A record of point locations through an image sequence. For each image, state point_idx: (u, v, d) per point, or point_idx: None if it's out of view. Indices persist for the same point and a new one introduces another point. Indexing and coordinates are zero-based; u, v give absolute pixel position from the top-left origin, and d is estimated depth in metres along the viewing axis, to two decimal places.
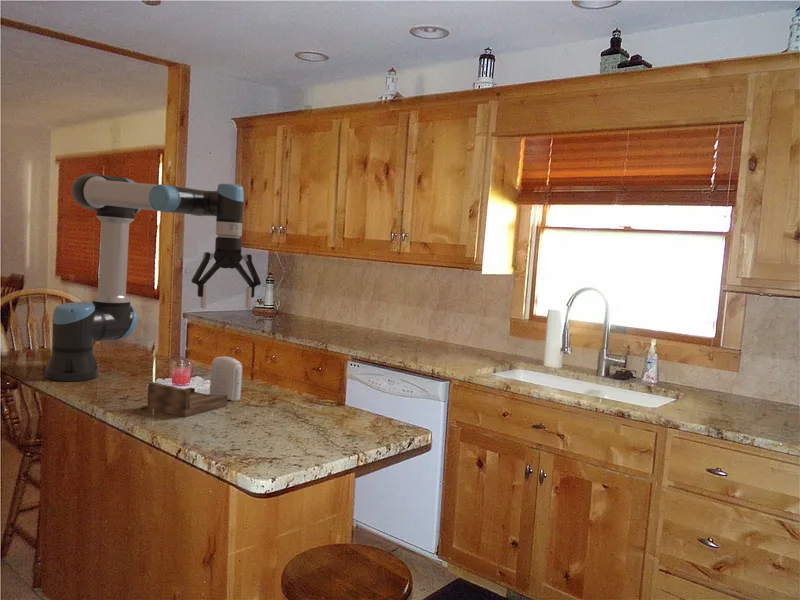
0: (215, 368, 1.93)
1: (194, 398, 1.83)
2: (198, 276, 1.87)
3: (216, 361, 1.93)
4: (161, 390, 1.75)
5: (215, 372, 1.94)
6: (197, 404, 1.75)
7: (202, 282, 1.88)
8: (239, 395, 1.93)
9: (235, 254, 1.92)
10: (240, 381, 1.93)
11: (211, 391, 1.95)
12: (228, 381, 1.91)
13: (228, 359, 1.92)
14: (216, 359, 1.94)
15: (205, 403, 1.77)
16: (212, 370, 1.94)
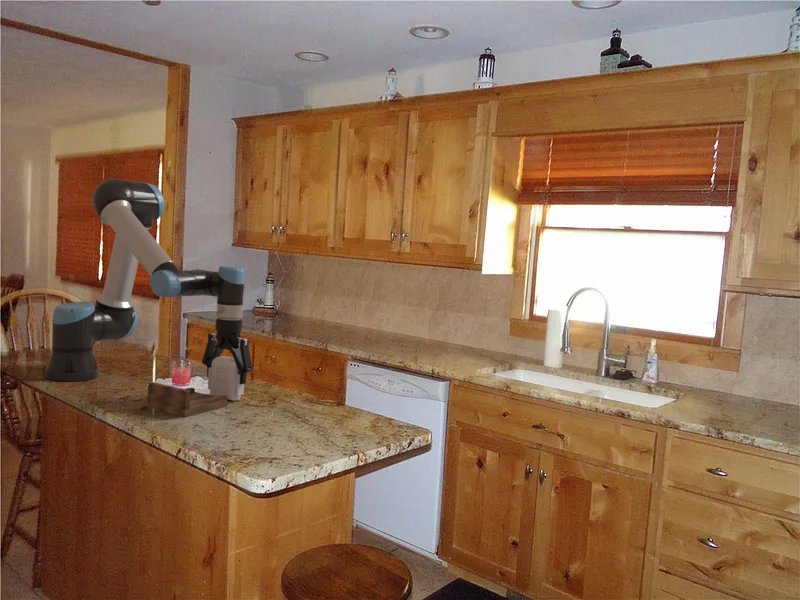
0: (215, 368, 1.93)
1: (194, 398, 1.83)
2: (204, 357, 1.96)
3: (216, 361, 1.93)
4: (161, 390, 1.75)
5: (215, 372, 1.94)
6: (197, 404, 1.75)
7: (208, 363, 1.96)
8: (239, 395, 1.93)
9: (231, 335, 1.91)
10: None
11: (211, 391, 1.95)
12: (228, 381, 1.91)
13: (228, 359, 1.92)
14: (216, 359, 1.94)
15: (205, 403, 1.77)
16: (212, 370, 1.94)
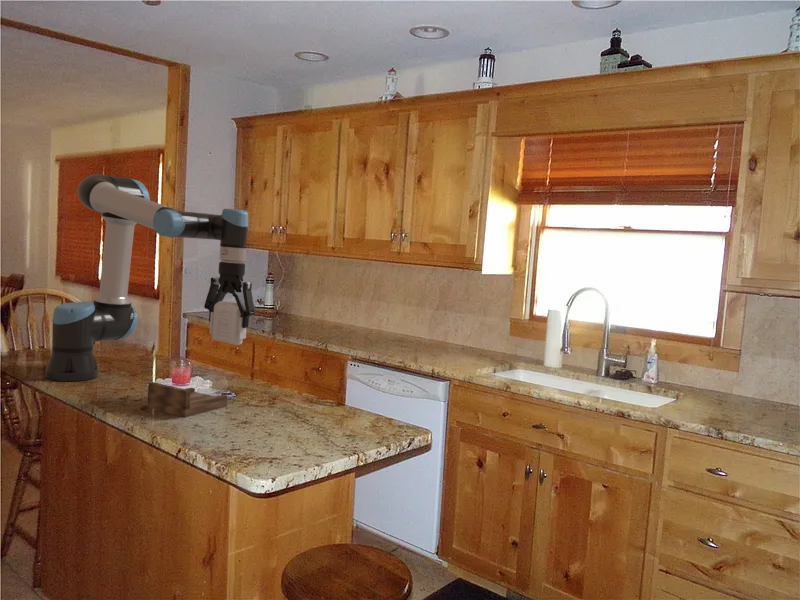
0: (218, 312, 1.92)
1: (194, 398, 1.83)
2: (207, 301, 1.95)
3: (219, 305, 1.92)
4: (161, 390, 1.75)
5: (217, 316, 1.92)
6: (197, 404, 1.75)
7: (210, 308, 1.94)
8: (241, 339, 1.92)
9: (233, 278, 1.90)
10: None
11: (213, 335, 1.93)
12: (230, 324, 1.90)
13: (231, 303, 1.91)
14: (218, 303, 1.93)
15: (205, 403, 1.77)
16: (214, 314, 1.93)
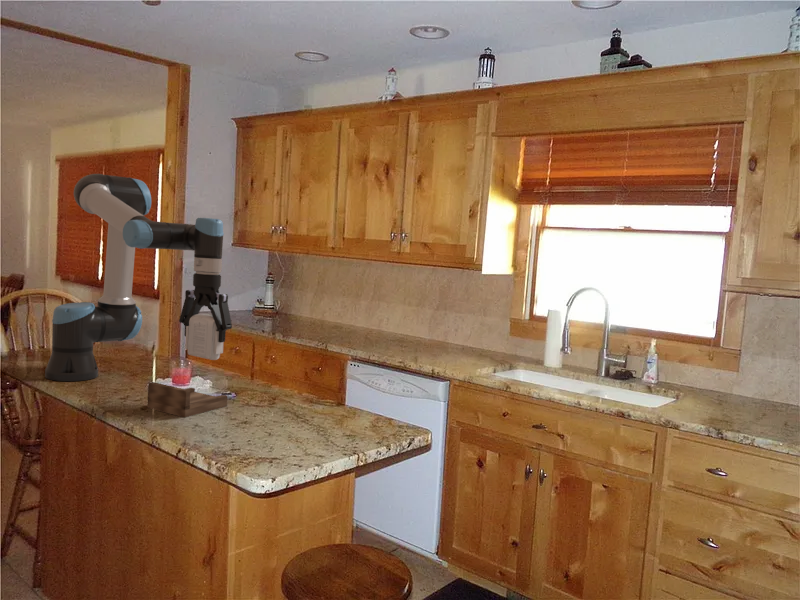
0: (193, 326, 1.83)
1: (194, 398, 1.83)
2: (182, 315, 1.86)
3: (194, 319, 1.83)
4: (161, 390, 1.75)
5: (193, 330, 1.83)
6: (197, 404, 1.75)
7: (185, 322, 1.85)
8: (218, 354, 1.83)
9: (209, 291, 1.81)
10: None
11: (189, 350, 1.85)
12: (206, 339, 1.81)
13: (206, 316, 1.82)
14: (194, 316, 1.84)
15: (205, 403, 1.77)
16: (190, 328, 1.84)
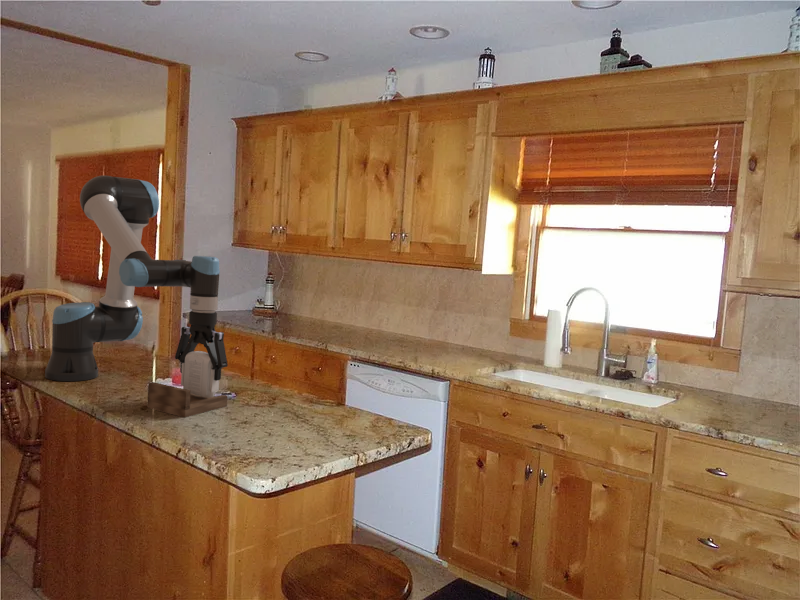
0: (189, 363, 1.83)
1: (194, 398, 1.83)
2: (178, 352, 1.86)
3: (190, 356, 1.83)
4: (161, 390, 1.75)
5: (188, 367, 1.84)
6: (197, 404, 1.75)
7: (181, 358, 1.86)
8: (214, 392, 1.83)
9: (205, 329, 1.81)
10: None
11: (184, 387, 1.85)
12: (201, 377, 1.81)
13: (202, 354, 1.82)
14: (190, 354, 1.84)
15: (205, 403, 1.77)
16: (185, 365, 1.84)
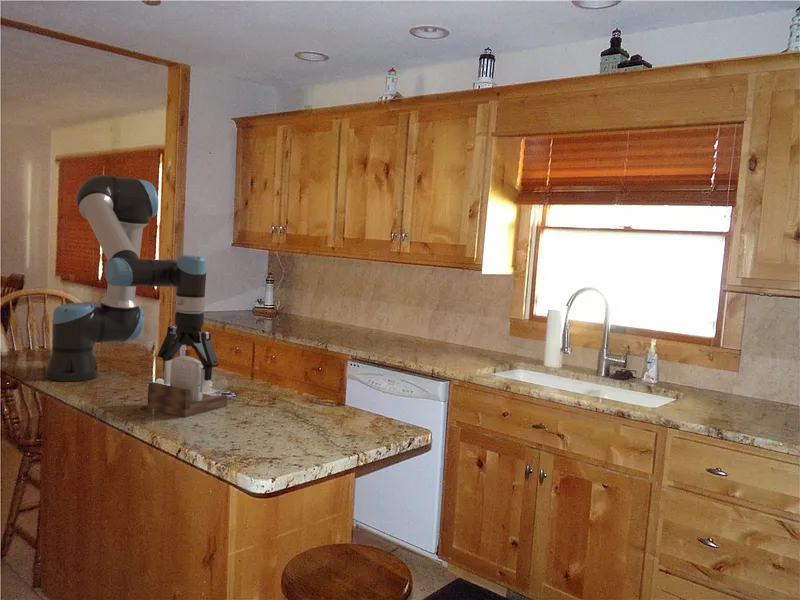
0: (175, 369, 1.79)
1: None
2: (161, 350, 1.82)
3: (176, 362, 1.79)
4: (161, 390, 1.75)
5: (174, 373, 1.79)
6: (197, 404, 1.75)
7: (164, 357, 1.82)
8: (200, 398, 1.79)
9: (191, 331, 1.77)
10: None
11: None
12: (188, 383, 1.77)
13: (188, 359, 1.78)
14: (176, 359, 1.80)
15: (205, 403, 1.77)
16: (172, 371, 1.80)
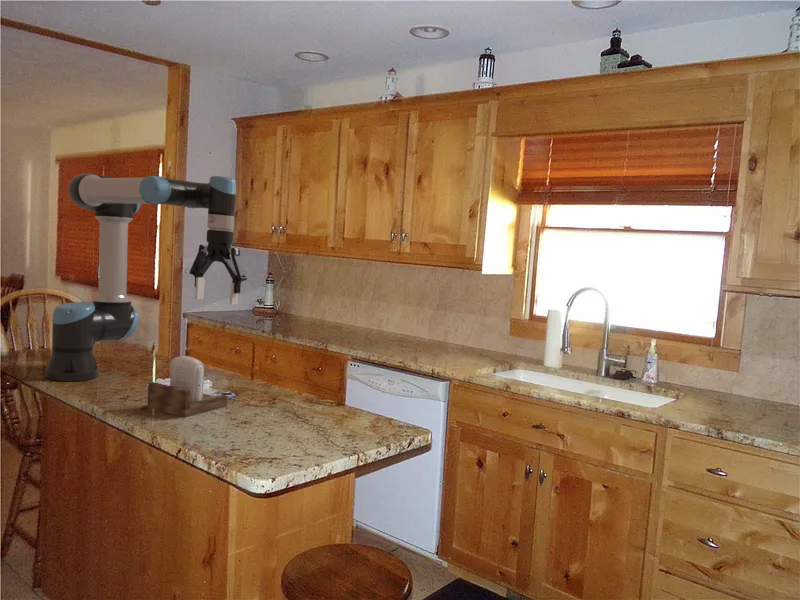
0: (175, 369, 1.79)
1: None
2: (193, 267, 1.94)
3: (176, 362, 1.79)
4: (161, 390, 1.75)
5: (174, 373, 1.79)
6: (197, 404, 1.75)
7: (195, 273, 1.94)
8: (200, 398, 1.79)
9: (221, 247, 1.89)
10: (201, 383, 1.78)
11: None
12: (188, 383, 1.77)
13: (188, 359, 1.78)
14: (176, 359, 1.80)
15: (205, 403, 1.77)
16: (172, 371, 1.80)
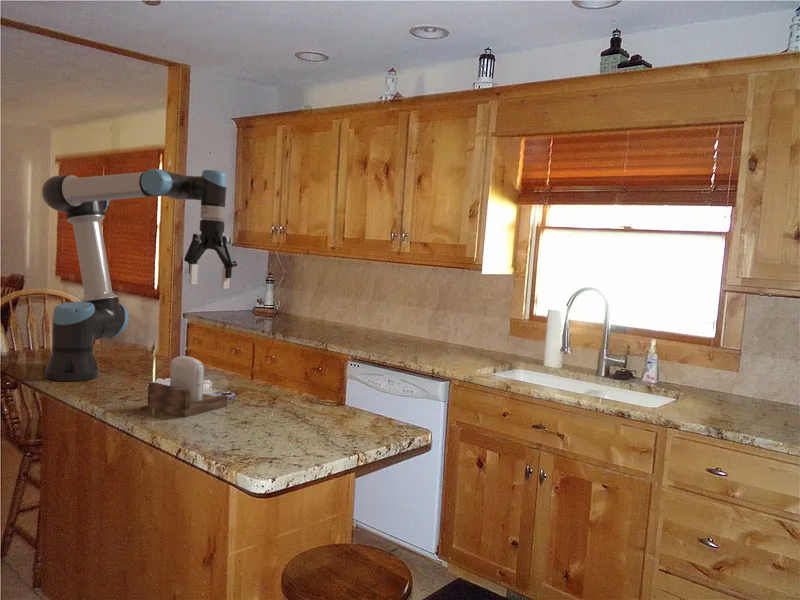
0: (175, 369, 1.79)
1: None
2: (187, 255, 2.10)
3: (176, 362, 1.79)
4: (161, 390, 1.75)
5: (174, 373, 1.79)
6: (197, 404, 1.75)
7: (189, 260, 2.09)
8: (200, 398, 1.79)
9: (213, 236, 2.04)
10: (201, 383, 1.78)
11: None
12: (188, 383, 1.77)
13: (188, 359, 1.78)
14: (176, 359, 1.80)
15: (205, 403, 1.77)
16: (172, 371, 1.80)
